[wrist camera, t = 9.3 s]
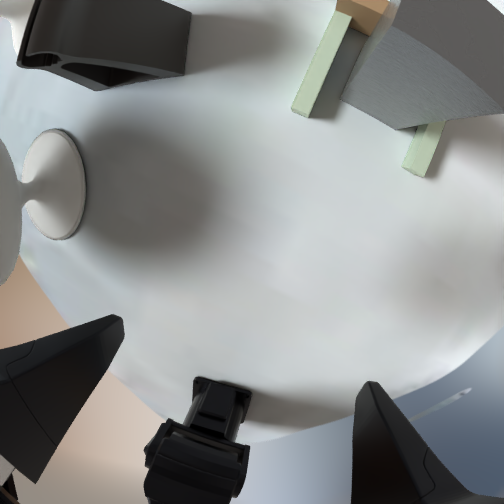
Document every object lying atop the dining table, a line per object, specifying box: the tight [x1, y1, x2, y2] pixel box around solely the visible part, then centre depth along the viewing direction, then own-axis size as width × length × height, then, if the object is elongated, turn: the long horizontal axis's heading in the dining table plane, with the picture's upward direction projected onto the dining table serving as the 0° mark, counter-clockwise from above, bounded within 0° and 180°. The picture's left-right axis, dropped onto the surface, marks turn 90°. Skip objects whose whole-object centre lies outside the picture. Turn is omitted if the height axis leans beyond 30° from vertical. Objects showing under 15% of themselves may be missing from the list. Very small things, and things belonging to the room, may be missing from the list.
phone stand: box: [16, 0, 191, 91], centre depth 11 cm, size 9×6×12 cm, turn 86°
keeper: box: [291, 0, 446, 177], centre depth 13 cm, size 10×10×4 cm
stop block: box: [340, 0, 504, 130], centre depth 10 cm, size 4×4×12 cm
